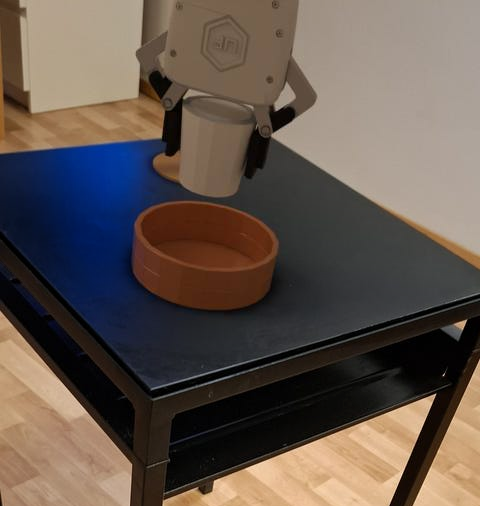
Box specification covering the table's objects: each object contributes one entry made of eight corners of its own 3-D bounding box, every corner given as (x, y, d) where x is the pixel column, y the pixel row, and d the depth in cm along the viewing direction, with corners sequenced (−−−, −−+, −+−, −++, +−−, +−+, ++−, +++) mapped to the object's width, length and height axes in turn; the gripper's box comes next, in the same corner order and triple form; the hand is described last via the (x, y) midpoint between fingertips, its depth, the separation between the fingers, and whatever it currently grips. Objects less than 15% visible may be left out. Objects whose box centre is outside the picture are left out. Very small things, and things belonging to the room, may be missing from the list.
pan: (102, 260, 74) (104, 219, 71) (202, 228, 83) (207, 190, 80) (201, 328, 68) (207, 286, 65) (297, 285, 77) (306, 247, 74)
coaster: (136, 163, 94) (136, 158, 93) (192, 150, 100) (193, 145, 100) (190, 194, 89) (191, 190, 89) (246, 179, 96) (246, 174, 95)
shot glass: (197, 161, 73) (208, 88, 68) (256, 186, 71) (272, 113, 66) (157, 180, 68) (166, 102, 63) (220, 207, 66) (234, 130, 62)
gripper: (125, -86, 54) (108, 151, 66) (353, -26, 53) (295, 203, 65) (156, -94, 60) (135, 125, 71) (363, -40, 59) (308, 173, 71)
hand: (212, 161), depth 68 cm, fingers closed on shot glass, 6 cm apart
